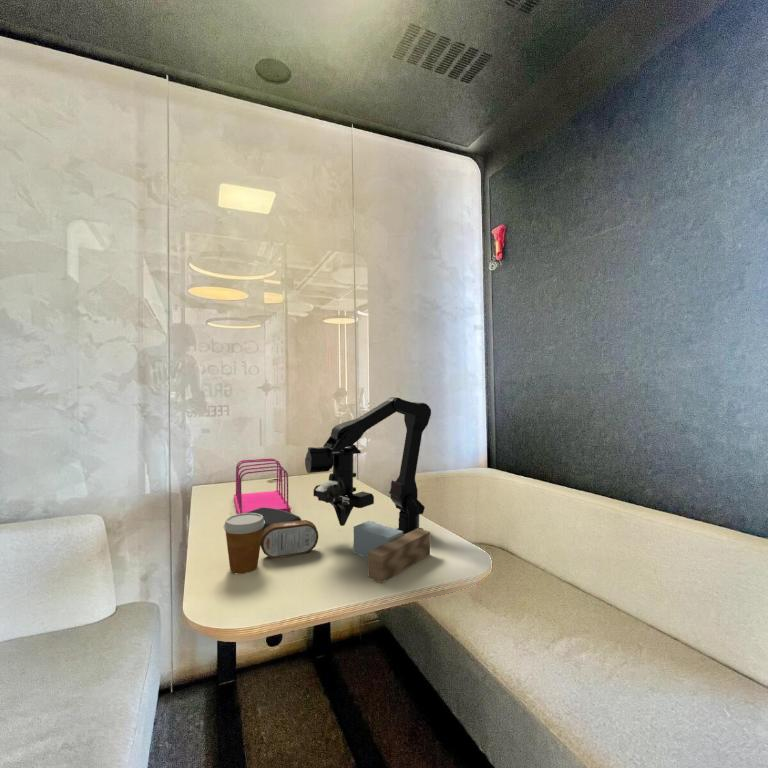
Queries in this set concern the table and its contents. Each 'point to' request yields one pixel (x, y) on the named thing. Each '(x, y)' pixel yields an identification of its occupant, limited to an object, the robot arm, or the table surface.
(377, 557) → the batten
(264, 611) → the table surface
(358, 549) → the block
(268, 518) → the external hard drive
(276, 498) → the file sorter
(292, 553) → the tin
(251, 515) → the disposable coffee cup
